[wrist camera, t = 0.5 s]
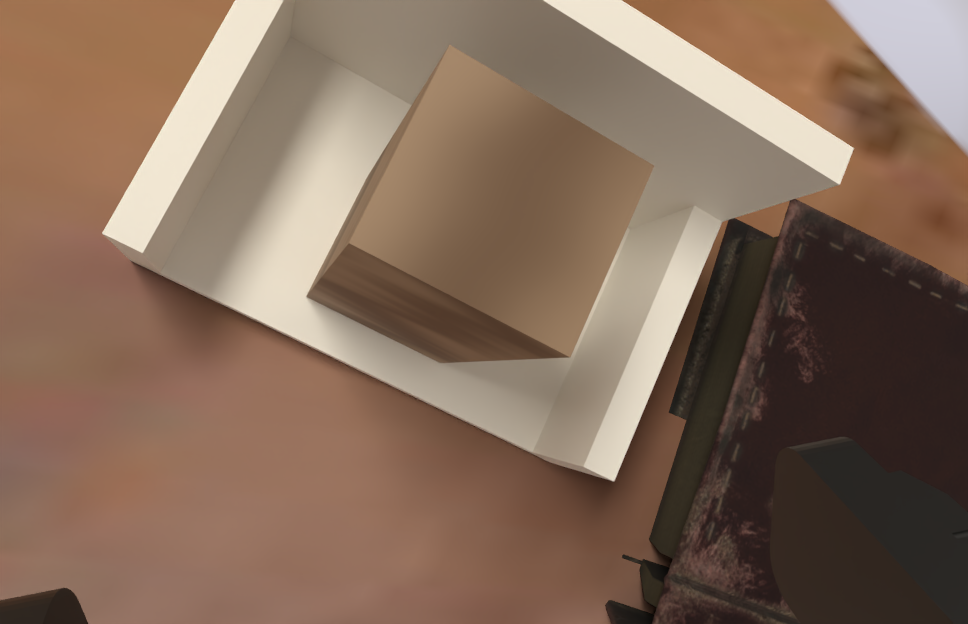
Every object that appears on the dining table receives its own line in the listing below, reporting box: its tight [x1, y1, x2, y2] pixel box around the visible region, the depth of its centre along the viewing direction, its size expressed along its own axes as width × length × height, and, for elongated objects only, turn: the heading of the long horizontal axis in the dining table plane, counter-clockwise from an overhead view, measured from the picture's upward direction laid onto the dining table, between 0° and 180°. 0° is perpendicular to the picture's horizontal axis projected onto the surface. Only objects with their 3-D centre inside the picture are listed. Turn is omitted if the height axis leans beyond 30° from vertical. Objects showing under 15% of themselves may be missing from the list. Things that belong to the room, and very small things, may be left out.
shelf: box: [102, 0, 854, 481], centre depth 26 cm, size 17×11×12 cm, turn 65°
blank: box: [306, 45, 654, 363], centre depth 25 cm, size 6×5×13 cm
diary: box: [605, 199, 968, 624], centre depth 36 cm, size 19×25×5 cm
